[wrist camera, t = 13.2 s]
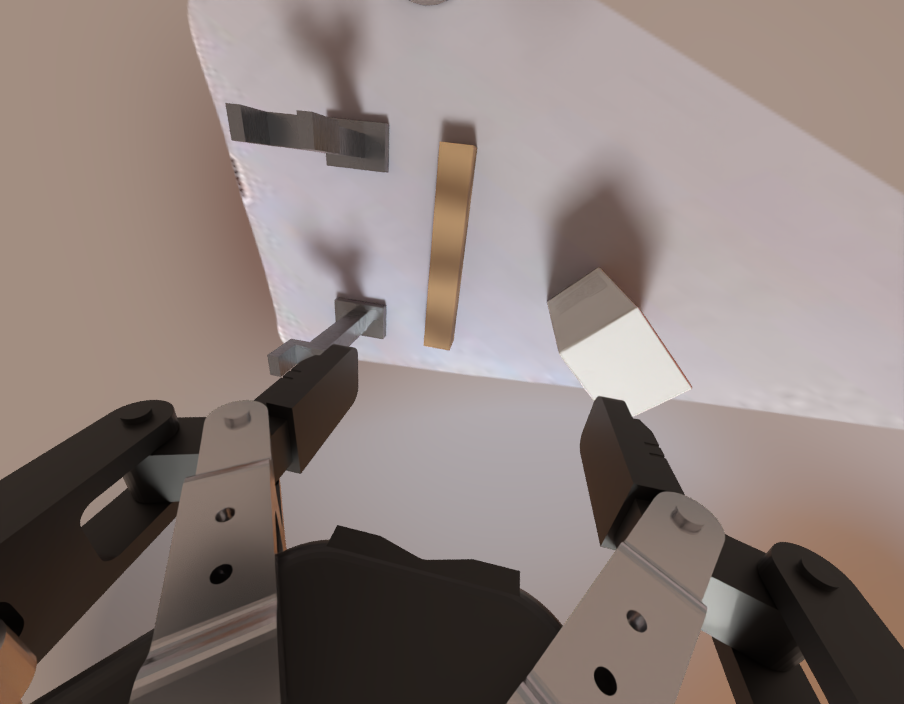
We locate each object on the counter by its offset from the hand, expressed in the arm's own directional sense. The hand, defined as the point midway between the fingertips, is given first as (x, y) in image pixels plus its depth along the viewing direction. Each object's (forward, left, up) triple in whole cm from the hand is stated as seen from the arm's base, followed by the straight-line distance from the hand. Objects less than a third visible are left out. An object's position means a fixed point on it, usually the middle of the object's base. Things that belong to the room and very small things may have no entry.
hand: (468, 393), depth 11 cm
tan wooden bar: (+1, -5, -28) cm, 28 cm away
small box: (+5, +11, -27) cm, 30 cm away
